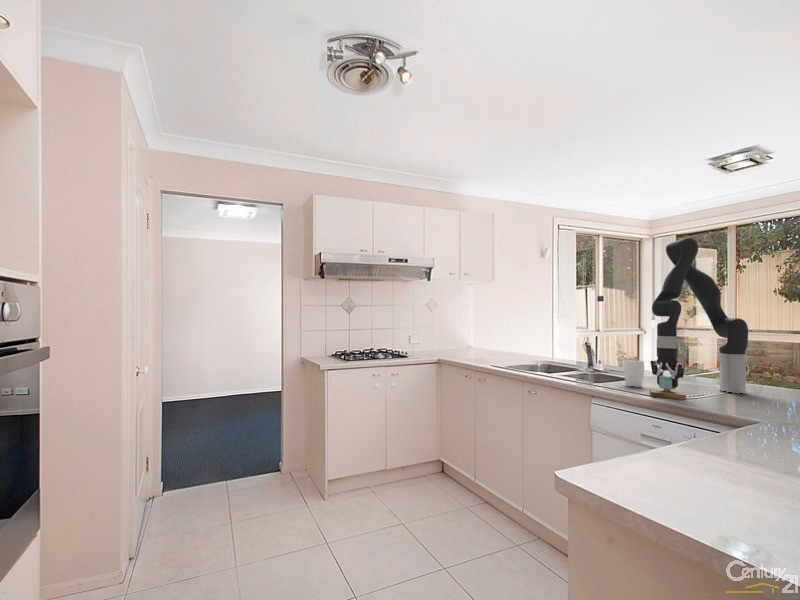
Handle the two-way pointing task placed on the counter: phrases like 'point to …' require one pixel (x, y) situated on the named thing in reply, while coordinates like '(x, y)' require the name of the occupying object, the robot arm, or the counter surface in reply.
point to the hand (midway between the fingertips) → (667, 386)
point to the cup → (633, 372)
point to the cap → (665, 382)
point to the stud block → (667, 393)
